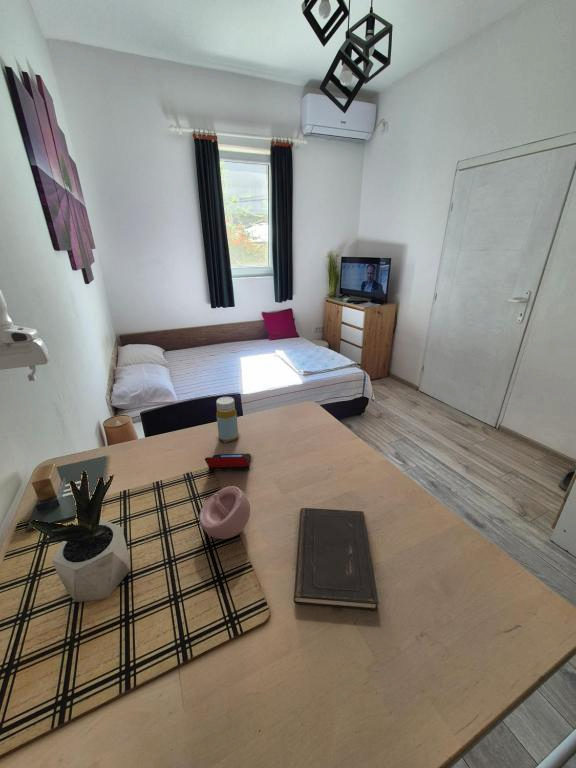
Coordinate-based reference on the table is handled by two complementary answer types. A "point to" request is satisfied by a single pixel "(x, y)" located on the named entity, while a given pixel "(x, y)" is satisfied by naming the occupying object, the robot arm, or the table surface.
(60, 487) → the tan rectangular block
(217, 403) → the bottle
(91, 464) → the slate board
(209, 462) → the handheld console
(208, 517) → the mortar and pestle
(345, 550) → the hardcover book
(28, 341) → the robot arm
